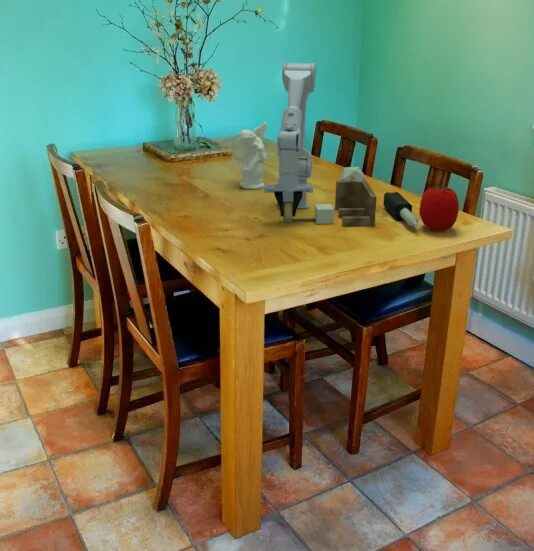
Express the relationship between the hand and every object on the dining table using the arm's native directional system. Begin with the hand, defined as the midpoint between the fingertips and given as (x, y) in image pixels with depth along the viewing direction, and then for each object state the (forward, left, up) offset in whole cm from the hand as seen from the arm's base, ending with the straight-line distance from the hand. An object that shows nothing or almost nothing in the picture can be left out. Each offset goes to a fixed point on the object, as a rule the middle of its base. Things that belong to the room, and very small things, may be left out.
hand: (287, 215), depth 208 cm
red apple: (+43, -8, -2) cm, 44 cm away
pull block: (+6, 0, -2) cm, 6 cm away
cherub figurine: (-11, +40, -2) cm, 41 cm away
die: (+24, +33, -2) cm, 41 cm away
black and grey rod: (+34, +13, +1) cm, 36 cm away
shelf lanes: (+20, +4, -2) cm, 20 cm away
